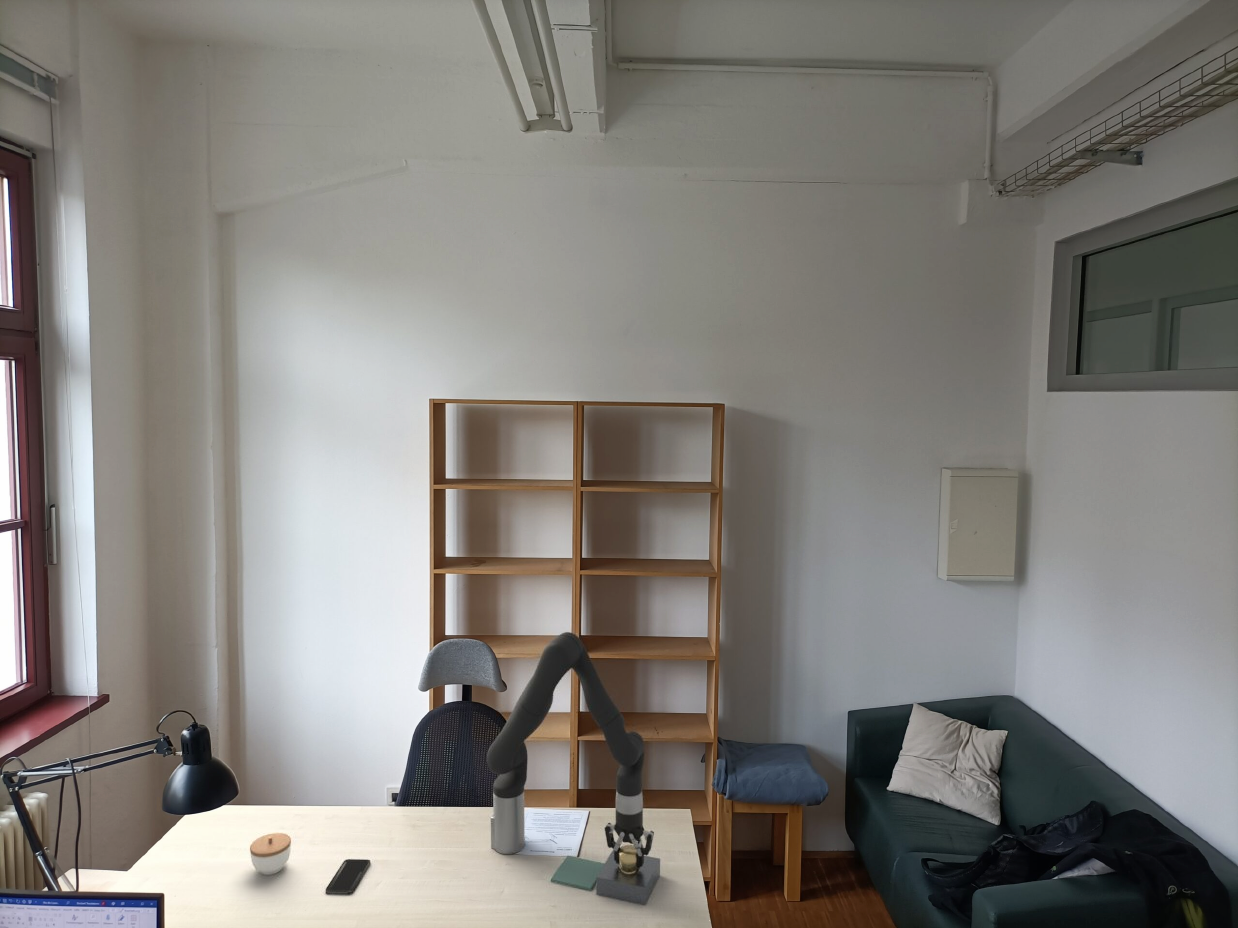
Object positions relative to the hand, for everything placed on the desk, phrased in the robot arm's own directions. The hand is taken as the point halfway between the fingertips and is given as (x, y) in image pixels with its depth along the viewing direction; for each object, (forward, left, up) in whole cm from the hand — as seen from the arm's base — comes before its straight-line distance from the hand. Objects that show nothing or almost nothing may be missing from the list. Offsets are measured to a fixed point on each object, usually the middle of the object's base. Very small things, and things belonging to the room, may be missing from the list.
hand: (629, 863), depth 220 cm
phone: (-76, -23, -7) cm, 79 cm away
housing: (0, 0, -6) cm, 6 cm away
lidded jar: (-99, -27, -6) cm, 103 cm away
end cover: (0, 0, -6) cm, 6 cm away
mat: (-15, 0, -6) cm, 16 cm away
